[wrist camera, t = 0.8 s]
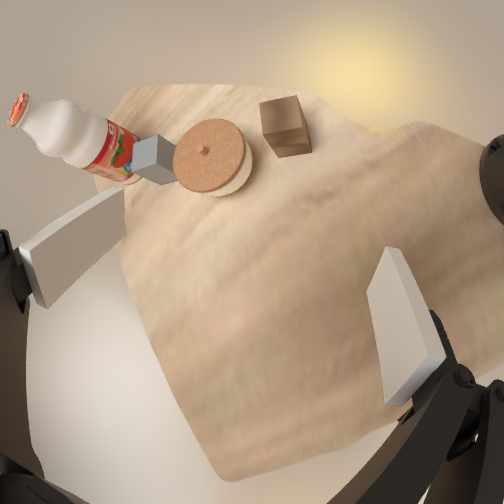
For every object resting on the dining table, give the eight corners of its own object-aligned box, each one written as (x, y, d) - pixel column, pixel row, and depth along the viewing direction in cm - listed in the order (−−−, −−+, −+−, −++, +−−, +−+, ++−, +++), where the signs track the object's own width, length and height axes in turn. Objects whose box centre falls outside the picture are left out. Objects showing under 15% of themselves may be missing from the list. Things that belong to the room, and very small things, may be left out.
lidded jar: (193, 156, 46) (161, 134, 37) (251, 130, 42) (228, 100, 34) (206, 214, 44) (171, 200, 35) (270, 189, 41) (248, 167, 32)
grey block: (185, 152, 46) (158, 134, 39) (185, 178, 46) (156, 163, 38) (161, 159, 48) (133, 143, 40) (161, 185, 47) (131, 172, 40)
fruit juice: (117, 152, 52) (8, 102, 26) (151, 133, 49) (39, 65, 23) (117, 192, 51) (-6, 152, 25) (153, 175, 48) (22, 116, 22)
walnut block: (306, 124, 39) (296, 95, 32) (311, 152, 39) (302, 126, 31) (275, 129, 41) (259, 103, 34) (278, 158, 41) (262, 134, 33)
